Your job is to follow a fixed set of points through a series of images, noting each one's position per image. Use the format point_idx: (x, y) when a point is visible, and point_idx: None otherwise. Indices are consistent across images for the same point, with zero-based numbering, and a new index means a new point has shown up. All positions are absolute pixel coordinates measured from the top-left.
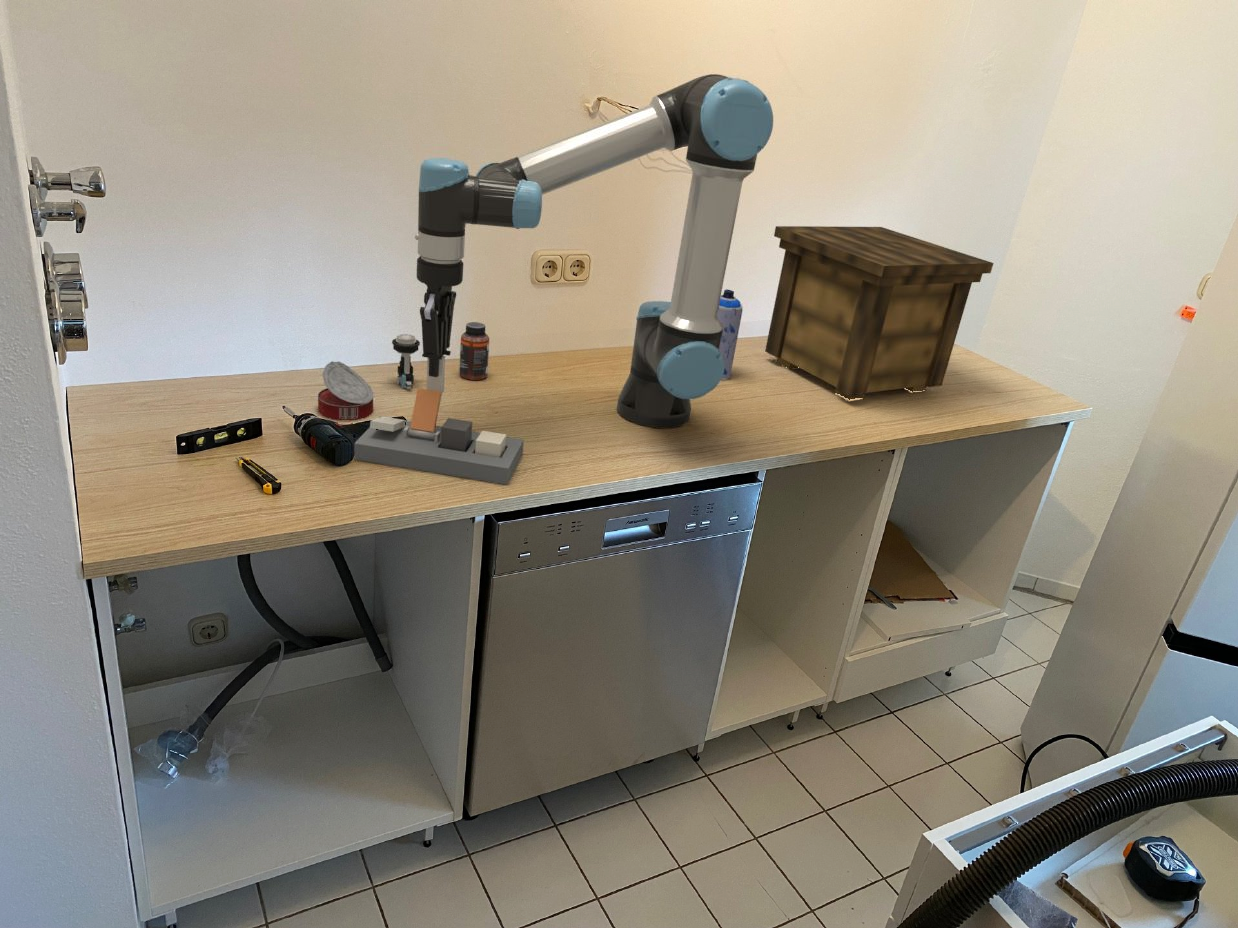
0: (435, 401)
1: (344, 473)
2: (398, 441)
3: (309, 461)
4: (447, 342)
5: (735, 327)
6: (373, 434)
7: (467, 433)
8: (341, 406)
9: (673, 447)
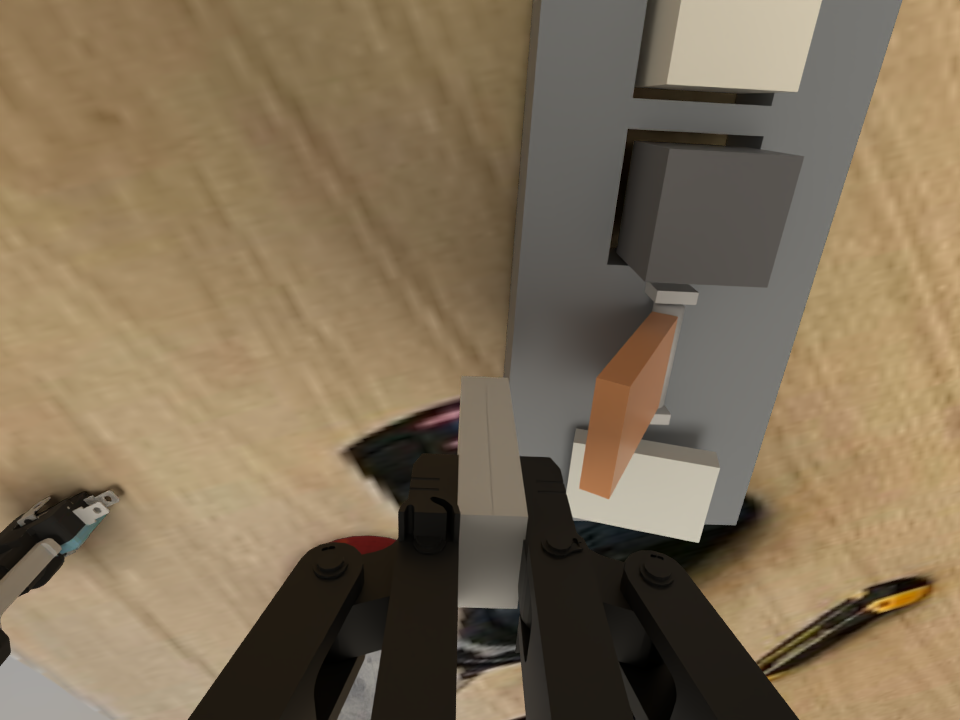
0: (641, 380)
1: (804, 484)
2: (698, 413)
3: (737, 573)
4: (351, 595)
5: None
6: None
7: (750, 151)
8: None
9: None
